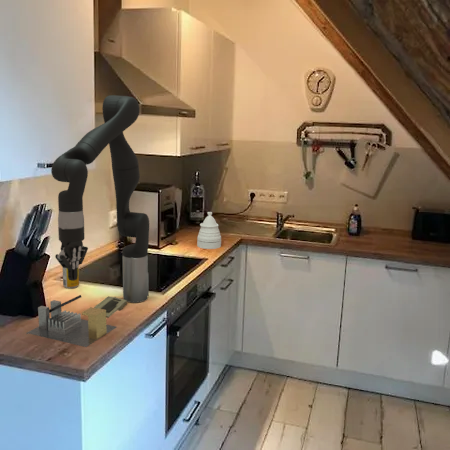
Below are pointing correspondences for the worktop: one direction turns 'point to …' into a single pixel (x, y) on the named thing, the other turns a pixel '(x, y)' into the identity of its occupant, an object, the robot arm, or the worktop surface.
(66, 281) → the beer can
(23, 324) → the worktop surface
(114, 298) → the computer
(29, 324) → the worktop surface
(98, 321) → the gold block
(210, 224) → the honey pot
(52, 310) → the strap
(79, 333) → the heatsink base
